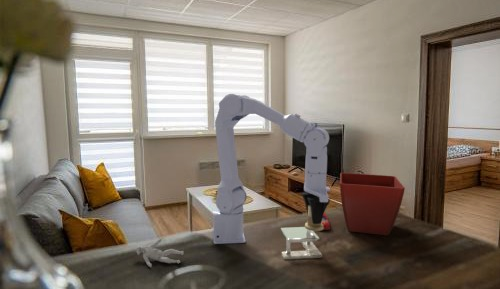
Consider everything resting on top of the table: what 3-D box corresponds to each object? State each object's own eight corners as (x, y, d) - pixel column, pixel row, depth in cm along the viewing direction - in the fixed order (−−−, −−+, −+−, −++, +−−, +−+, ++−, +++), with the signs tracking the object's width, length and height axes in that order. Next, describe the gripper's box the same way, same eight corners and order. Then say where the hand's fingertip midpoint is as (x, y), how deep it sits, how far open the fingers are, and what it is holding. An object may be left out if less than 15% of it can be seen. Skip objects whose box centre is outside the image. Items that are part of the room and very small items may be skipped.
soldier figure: (174, 274, 78) (128, 258, 78) (174, 279, 82) (130, 264, 82) (186, 244, 83) (143, 230, 83) (185, 250, 87) (144, 236, 87)
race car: (330, 232, 105) (330, 221, 104) (313, 231, 105) (313, 220, 105) (326, 219, 118) (326, 208, 117) (311, 218, 118) (312, 208, 118)
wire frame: (284, 259, 84) (284, 241, 84) (277, 245, 93) (277, 229, 93) (322, 257, 86) (322, 239, 85) (311, 243, 94) (312, 227, 94)
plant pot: (402, 241, 97) (405, 187, 95) (337, 234, 102) (339, 183, 101) (393, 221, 115) (395, 175, 114) (338, 216, 121) (340, 172, 119)
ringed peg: (308, 231, 85) (308, 209, 84) (302, 224, 89) (303, 203, 89) (326, 230, 85) (326, 208, 85) (319, 224, 90) (320, 203, 89)
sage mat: (287, 240, 97) (287, 239, 97) (280, 228, 106) (280, 227, 106) (319, 239, 98) (319, 238, 98) (309, 227, 108) (309, 226, 108)
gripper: (340, 177, 79) (338, 229, 80) (320, 167, 93) (319, 212, 95) (313, 177, 78) (311, 230, 80) (297, 167, 93) (296, 212, 94)
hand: (314, 220), depth 87 cm, fingers closed on ringed peg, 4 cm apart
